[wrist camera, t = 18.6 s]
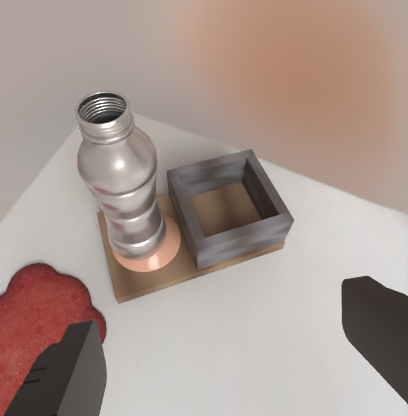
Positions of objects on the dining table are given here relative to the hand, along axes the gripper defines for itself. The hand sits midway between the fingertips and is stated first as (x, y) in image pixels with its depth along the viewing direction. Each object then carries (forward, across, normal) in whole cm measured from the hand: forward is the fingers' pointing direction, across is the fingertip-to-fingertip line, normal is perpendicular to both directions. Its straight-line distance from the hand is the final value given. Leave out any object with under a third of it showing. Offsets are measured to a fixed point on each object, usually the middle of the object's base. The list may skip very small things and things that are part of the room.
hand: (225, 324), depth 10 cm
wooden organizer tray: (+31, -1, +6) cm, 32 cm away
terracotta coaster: (+29, +5, +6) cm, 30 cm away
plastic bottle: (+29, +5, +6) cm, 30 cm away
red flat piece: (+24, +19, +14) cm, 33 cm away
